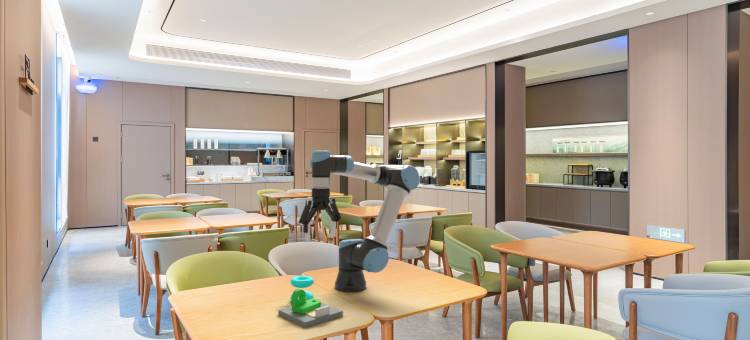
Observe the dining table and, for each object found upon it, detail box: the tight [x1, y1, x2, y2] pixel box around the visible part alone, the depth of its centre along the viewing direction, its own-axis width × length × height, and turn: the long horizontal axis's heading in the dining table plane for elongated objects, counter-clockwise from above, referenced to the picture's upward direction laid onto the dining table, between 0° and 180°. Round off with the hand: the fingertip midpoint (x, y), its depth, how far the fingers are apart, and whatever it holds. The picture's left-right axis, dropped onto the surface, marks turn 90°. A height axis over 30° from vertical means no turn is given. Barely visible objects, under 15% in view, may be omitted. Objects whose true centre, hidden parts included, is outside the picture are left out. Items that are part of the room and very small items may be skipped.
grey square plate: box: [277, 298, 344, 329], centre depth 174 cm, size 18×18×5 cm
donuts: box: [290, 275, 315, 302], centre depth 192 cm, size 10×10×10 cm
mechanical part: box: [291, 288, 322, 314], centre depth 176 cm, size 12×6×8 cm, turn 145°
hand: (320, 238), depth 184 cm, fingers open, 13 cm apart
